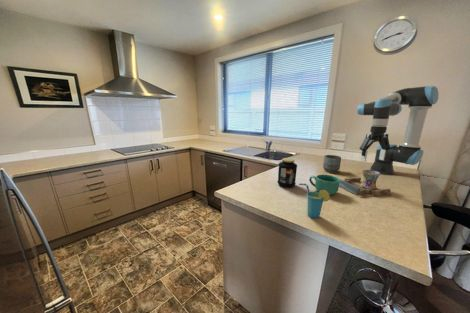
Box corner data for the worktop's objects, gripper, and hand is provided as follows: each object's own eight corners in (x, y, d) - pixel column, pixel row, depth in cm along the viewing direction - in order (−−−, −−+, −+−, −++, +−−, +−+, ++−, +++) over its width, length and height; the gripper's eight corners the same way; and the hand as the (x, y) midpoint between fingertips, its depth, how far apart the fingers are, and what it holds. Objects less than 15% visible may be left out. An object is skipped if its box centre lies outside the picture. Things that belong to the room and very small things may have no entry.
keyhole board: (359, 181, 129) (360, 175, 128) (389, 194, 108) (391, 187, 107) (333, 183, 124) (334, 177, 123) (360, 197, 104) (361, 190, 103)
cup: (293, 213, 87) (296, 184, 84) (298, 207, 93) (301, 179, 90) (325, 224, 79) (330, 192, 76) (328, 216, 85) (333, 186, 82)
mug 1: (340, 192, 111) (342, 177, 108) (333, 199, 102) (336, 183, 100) (312, 185, 122) (314, 171, 120) (304, 190, 113) (306, 176, 111)
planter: (339, 170, 152) (341, 156, 149) (338, 174, 142) (340, 159, 139) (323, 168, 158) (325, 154, 155) (321, 172, 148) (323, 157, 145)
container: (299, 184, 122) (300, 158, 118) (290, 190, 113) (292, 162, 109) (282, 180, 130) (283, 156, 126) (273, 185, 121) (274, 159, 117)
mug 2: (379, 191, 111) (383, 175, 108) (361, 189, 114) (364, 173, 111) (372, 184, 122) (375, 169, 119) (356, 182, 125) (359, 167, 122)
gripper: (389, 125, 114) (382, 157, 119) (356, 125, 109) (350, 159, 114) (402, 126, 107) (394, 160, 112) (367, 126, 102) (361, 163, 107)
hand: (372, 160), depth 113 cm, fingers open, 13 cm apart
